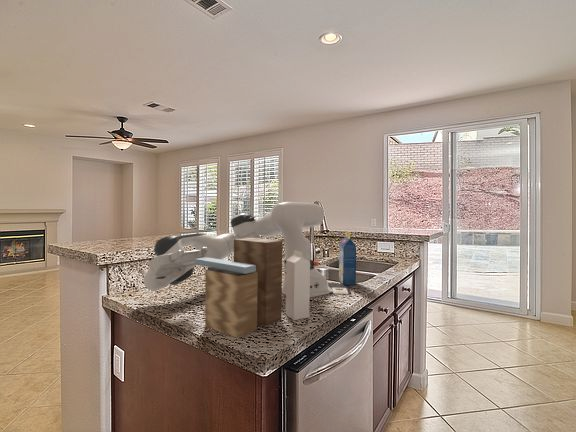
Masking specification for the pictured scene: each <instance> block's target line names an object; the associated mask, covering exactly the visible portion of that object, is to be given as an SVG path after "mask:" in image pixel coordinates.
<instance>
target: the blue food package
mask: <svg viewBox="0 0 576 432" xmlns="http://www.w3.org/2000/svg"><path fill="white" fill-rule="evenodd" d="M338 251H339V253H338V256H339V258H338V260H339V261H338V280H339V283H342V284H343V285H356V283H357V282H356V280H357V279H356V278H357V277H356V276H357V247H356V244H355V243H354V241H353V240H352V239H351V232H349V231H345V236H344V237H343V238H342V240H341V241H340V243H339V250H338Z"/></svg>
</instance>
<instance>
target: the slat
mask: <svg viewBox="0 0 576 432" xmlns="http://www.w3.org/2000/svg"><path fill="white" fill-rule="evenodd" d="M195 265H196V266H200V267H206V268H216V269H222V270H227V271H233V272H238V273H244V274H247V273H251V272H255V271H256V265H252V264H246V263H239V262H234V260H233V261H232V260H225V259H222V260H220V259H214V258H208V257H204V258H198V259H195Z"/></svg>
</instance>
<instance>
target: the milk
mask: <svg viewBox="0 0 576 432" xmlns="http://www.w3.org/2000/svg"><path fill="white" fill-rule="evenodd" d="M309 297H310V261H308V260H306V259H305V258H303V253H302V252H299V251H295V250H294V255H293V256H291V257H290V258H289V259H287V260H286V295H285V315H286V316H287V317H289V318H290V319H292V320H294V321H296V320H301V319H308V318H310V298H311V297H310V298H309Z"/></svg>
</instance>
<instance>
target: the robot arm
mask: <svg viewBox="0 0 576 432" xmlns="http://www.w3.org/2000/svg"><path fill="white" fill-rule="evenodd" d="M271 209H272V210H271V212H270V213H268V214H265V215H264V216H262V217H261V218H259V219H255V218H256V216H253V215H251V214H250V213H247V212H245V213H238V214H236V215H234V217H232V219H231V220H230V225H231V228H232V230H233V234H232V233H227V232H226V233H222V234H218V235H216V236H215V235H214V236H212V235H209V234H208V235H207V234H206V233H204V232H201V233H199V232H198V233H190V234H188V233H187V234H182V235H167V236H166V235H165V236H163V237H161V238H160V239H159V240H157V241H156V242H155V245H154V248H153V252H154V254H155V255H156V256H155V257H154V258H152V259H151V260H149V261H148V268H149V270H147V272H146V273H145V275H144V276H143V283H144V286H145V288H146V289H148V290H149V291H151V292H157V291H159V290H162V289H164V288H165V287H168V286H169V285H171V286H177V285H179V284H181V283H182V282H184V281H185V280H186V279H188V278H191V276H193V273H194V271H195V266H197V265H195V259H198V258H204V257H208V258H214V259H220V260H225V259H226V258H227V257H229V256H230V255H232V254H234V239H242V238H260V239H262V238H261V237H265V238H270V237H271V238H272V237H276V236H279V235H282V236H283V240H284V241H283V242H284V259H283V273H284V274H283V275H284V276H283V280H282V295H284V296H286V260H287V259H289V258H290V257H291V256H293V255H294V250H295V251H299V252H302V253H303V258H305V259H306V260H308V261H310V297H309V299H310V298H315V297H320V296H323V295H328V294H330V292H333V290H332V289H331V288H330V287H329V286H328V281H327V278H326V277H325V275H323V274H322V273H321V272H319V270H317V269H316V268H315V267H318V266H319V264H320V263H319V261H317V260H312V242H311V241H310V239H309V238H307V237H306V236H305V235H304V232H303V230H305V229H308V228H309V229H310V228H313V227H316V226H319V225H321V224H322V223H323V221H324V219H325V211H324V208H323V207H322V205H320V204H318V203H315V202H310V201H307V202H306V201H305V202H304V201H303V202H302V201H283V202H279V203H276V204H275V205H273V208H271ZM189 246H191V247H192V248H195V250H188V251H186V250H185V248H184V247H189Z"/></svg>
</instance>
